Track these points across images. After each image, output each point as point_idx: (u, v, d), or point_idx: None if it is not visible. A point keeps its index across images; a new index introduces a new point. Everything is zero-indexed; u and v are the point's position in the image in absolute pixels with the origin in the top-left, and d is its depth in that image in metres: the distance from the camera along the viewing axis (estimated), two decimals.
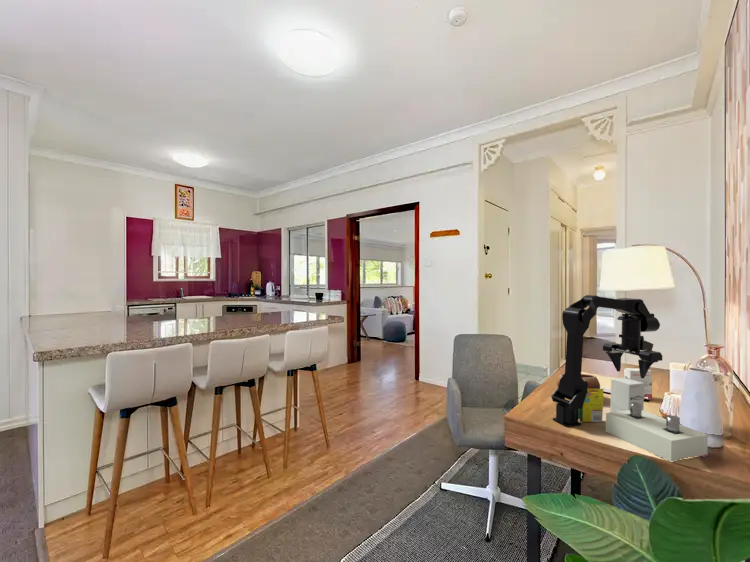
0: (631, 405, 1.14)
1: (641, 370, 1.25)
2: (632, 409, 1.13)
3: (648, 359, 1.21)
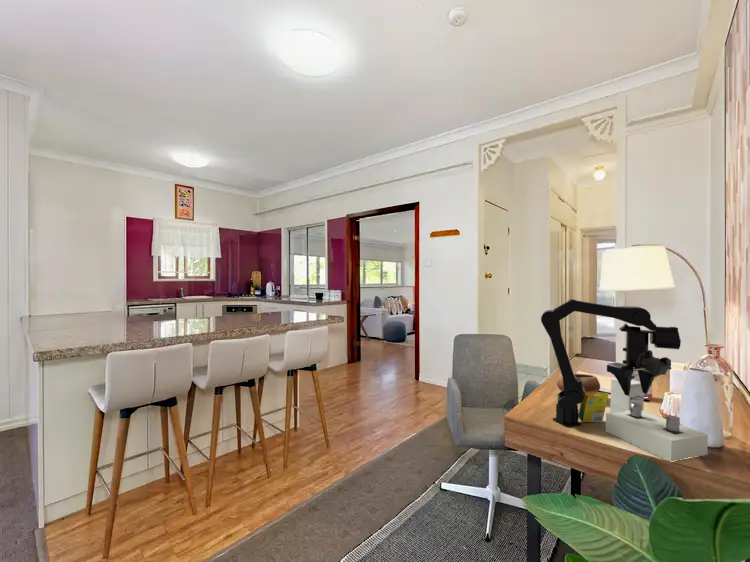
0: (631, 405, 1.14)
1: None
2: (632, 409, 1.13)
3: None
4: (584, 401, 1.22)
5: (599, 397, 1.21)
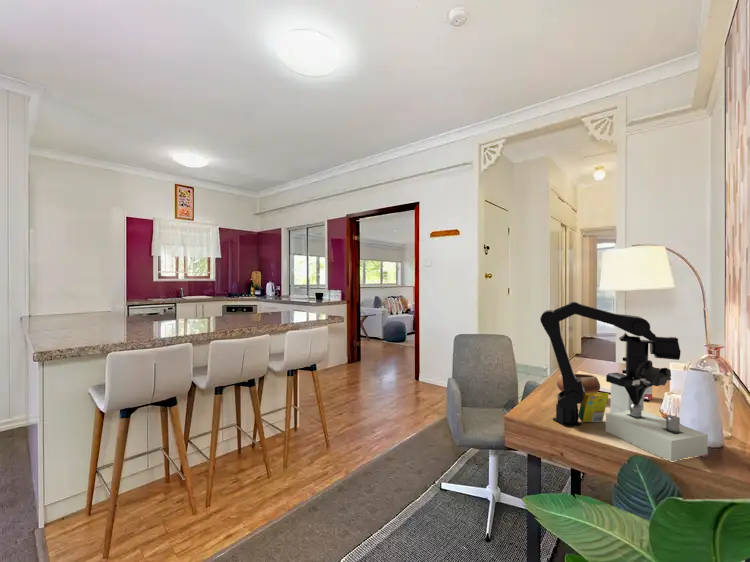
0: (631, 406, 1.14)
1: None
2: (632, 410, 1.13)
3: None
4: (584, 401, 1.22)
5: (599, 397, 1.21)
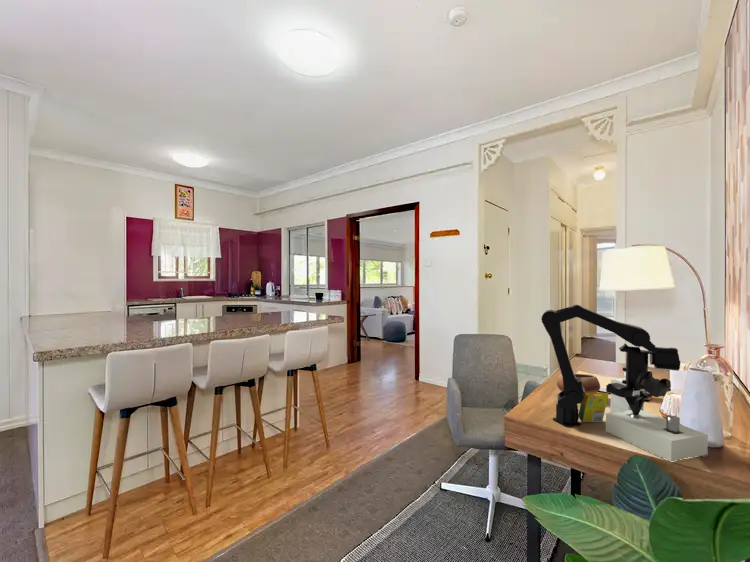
0: (631, 416, 1.14)
1: None
2: None
3: None
4: (584, 401, 1.22)
5: (599, 397, 1.21)
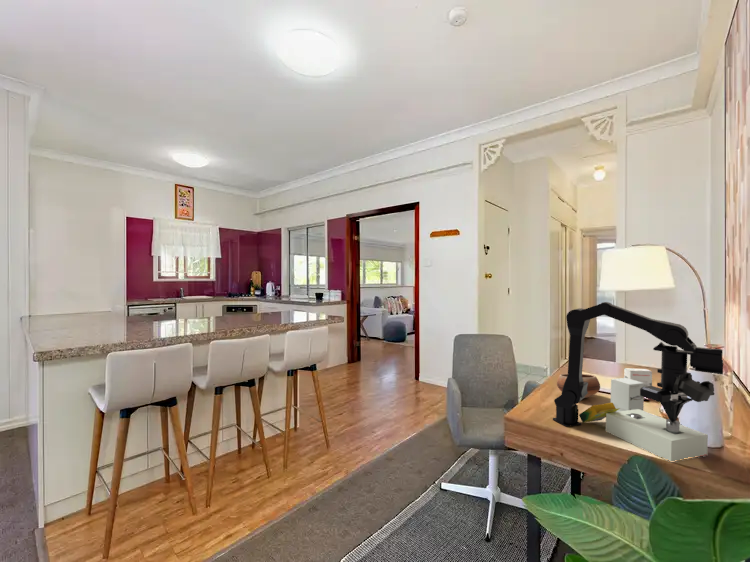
0: (631, 416, 1.14)
1: None
2: None
3: None
4: (591, 412, 1.18)
5: (609, 411, 1.16)
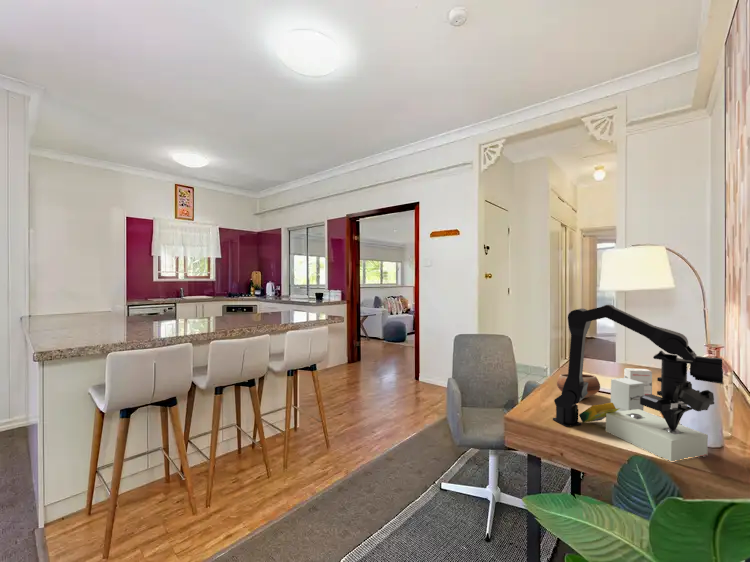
0: (631, 416, 1.14)
1: None
2: None
3: None
4: (591, 412, 1.18)
5: (609, 411, 1.16)
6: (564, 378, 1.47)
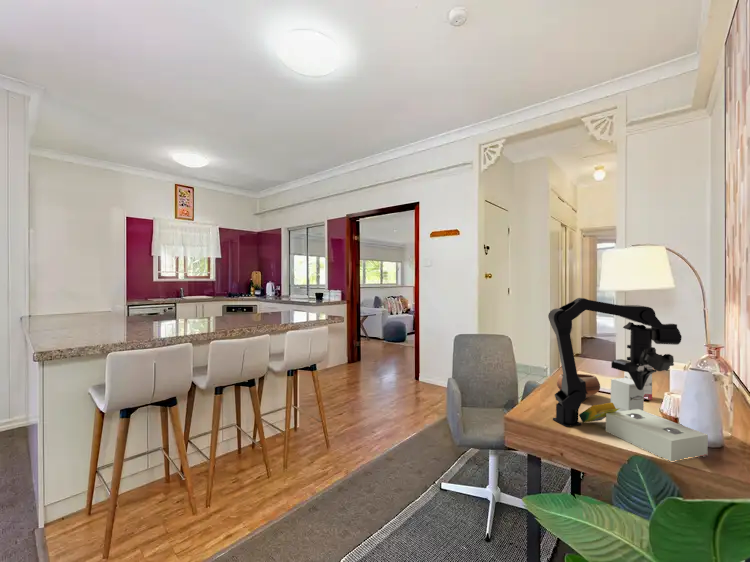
0: (631, 416, 1.14)
1: None
2: None
3: None
4: (591, 412, 1.18)
5: (609, 411, 1.16)
6: None
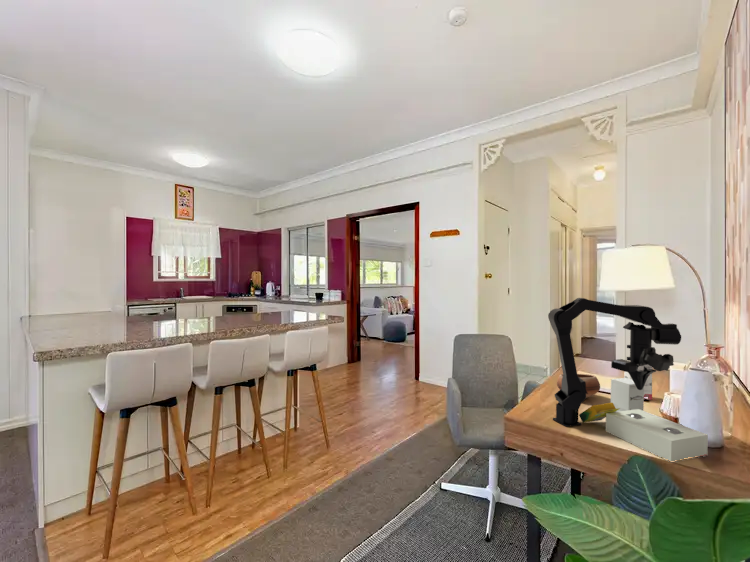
0: (631, 416, 1.14)
1: None
2: None
3: None
4: (591, 412, 1.18)
5: (609, 411, 1.16)
6: None
